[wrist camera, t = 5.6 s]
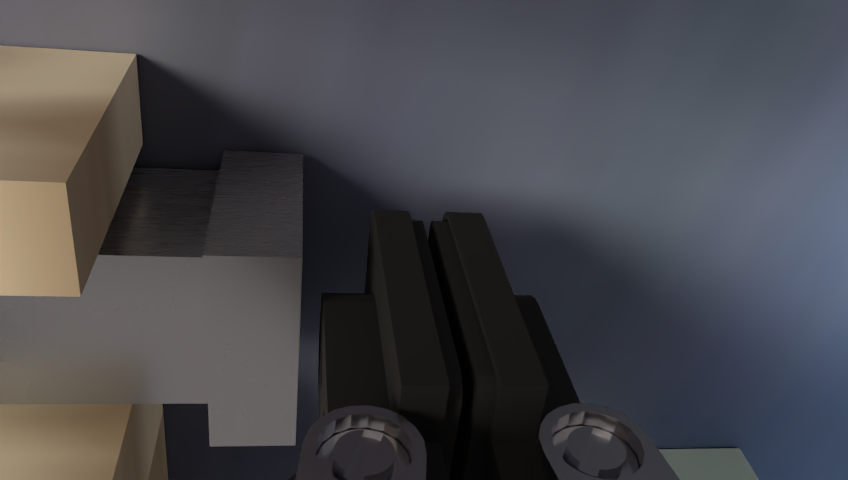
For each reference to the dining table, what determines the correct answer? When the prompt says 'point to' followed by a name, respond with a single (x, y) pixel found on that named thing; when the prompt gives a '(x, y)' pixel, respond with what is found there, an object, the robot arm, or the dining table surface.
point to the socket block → (68, 244)
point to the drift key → (179, 304)
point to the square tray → (709, 464)
